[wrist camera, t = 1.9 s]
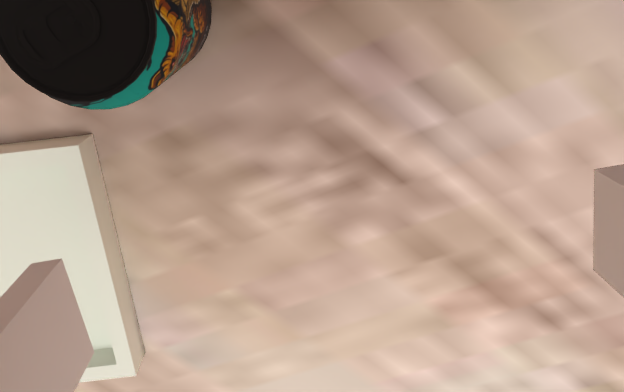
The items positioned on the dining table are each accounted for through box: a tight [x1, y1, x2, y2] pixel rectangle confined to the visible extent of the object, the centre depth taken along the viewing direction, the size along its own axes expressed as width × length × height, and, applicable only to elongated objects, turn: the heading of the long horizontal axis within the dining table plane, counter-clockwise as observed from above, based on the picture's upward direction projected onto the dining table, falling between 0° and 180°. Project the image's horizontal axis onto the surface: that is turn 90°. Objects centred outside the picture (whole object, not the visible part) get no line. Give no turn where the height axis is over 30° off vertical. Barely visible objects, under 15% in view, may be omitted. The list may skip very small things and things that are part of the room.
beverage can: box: [0, 0, 211, 109], centre depth 26 cm, size 7×7×12 cm
